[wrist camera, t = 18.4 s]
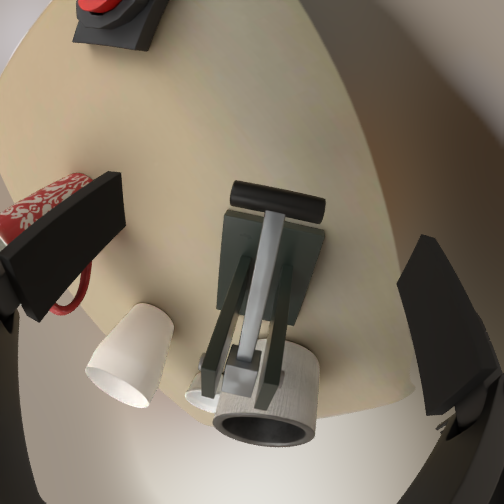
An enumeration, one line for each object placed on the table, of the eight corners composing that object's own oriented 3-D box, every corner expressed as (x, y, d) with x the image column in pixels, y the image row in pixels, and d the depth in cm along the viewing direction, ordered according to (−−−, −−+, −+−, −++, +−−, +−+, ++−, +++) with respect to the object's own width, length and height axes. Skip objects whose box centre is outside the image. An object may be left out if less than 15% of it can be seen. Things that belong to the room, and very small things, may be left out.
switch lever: (239, 179, 16) (230, 181, 14) (322, 196, 16) (328, 201, 13) (209, 366, 20) (201, 386, 18) (272, 380, 20) (270, 402, 18)
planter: (229, 374, 41) (212, 436, 32) (233, 325, 34) (209, 403, 25) (307, 388, 40) (301, 451, 31) (331, 342, 33) (330, 423, 24)
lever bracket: (227, 209, 25) (164, 321, 14) (324, 229, 25) (331, 358, 14) (218, 302, 32) (179, 406, 21) (294, 318, 32) (281, 430, 20)
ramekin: (253, 386, 42) (248, 409, 39) (224, 398, 47) (218, 418, 43) (208, 362, 40) (200, 385, 37) (183, 377, 45) (176, 397, 41)
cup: (114, 303, 37) (73, 366, 27) (153, 288, 33) (107, 364, 23) (153, 343, 40) (122, 406, 31) (195, 335, 37) (165, 410, 27)
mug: (48, 186, 27) (-29, 243, 16) (84, 149, 24) (-15, 207, 13) (98, 264, 33) (39, 338, 22) (142, 244, 30) (73, 333, 19)
